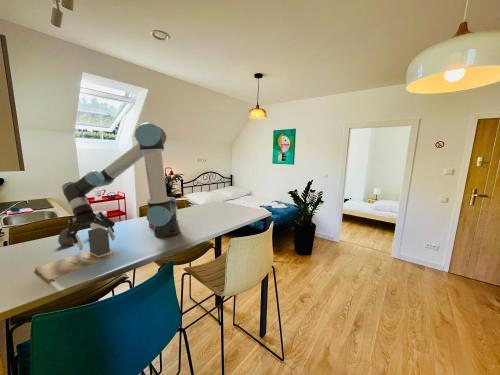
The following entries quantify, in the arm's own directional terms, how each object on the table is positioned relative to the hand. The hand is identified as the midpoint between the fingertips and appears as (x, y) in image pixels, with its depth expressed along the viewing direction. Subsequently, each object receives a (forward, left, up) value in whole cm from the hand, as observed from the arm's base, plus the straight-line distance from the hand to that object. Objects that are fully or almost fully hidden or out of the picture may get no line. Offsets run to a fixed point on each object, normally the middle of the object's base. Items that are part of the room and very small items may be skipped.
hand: (98, 243), depth 100 cm
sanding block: (0, 0, -5) cm, 5 cm away
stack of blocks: (-8, -52, -7) cm, 53 cm away
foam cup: (+22, -30, -7) cm, 38 cm away
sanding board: (+4, +6, -6) cm, 10 cm away
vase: (+26, -12, -7) cm, 29 cm away
